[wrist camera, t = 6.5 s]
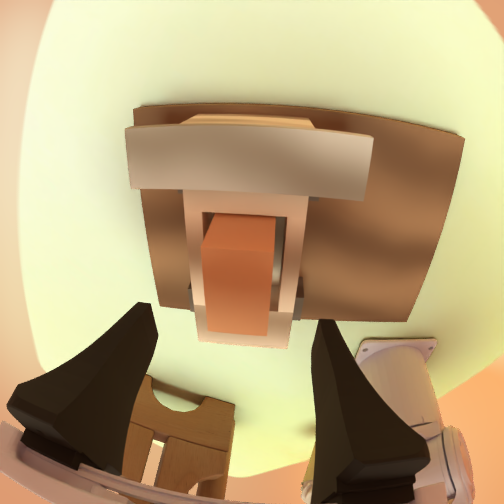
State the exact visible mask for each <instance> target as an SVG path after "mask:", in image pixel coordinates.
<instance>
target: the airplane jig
mask: <svg viewBox="0 0 504 504" xmlns="http://www.w3.org/2000/svg"><path fill="white" fill-rule="evenodd" d="M133 115H134V126H131V127H128V128H126V129H125V139H126V150H127V160H128V169H129V177H130V185H131V189H140V191H141V199H142V206H143V214H144V221H145V227H146V234H147V240H148V246H149V252H150V258H151V263H152V269H153V274H154V279H155V285H156V290H157V294H158V299H159V304H160V306H162V307H170V308H178V309H187V310H191V312H195V318H196V326H197V333H198V340H199V341H202V342H211V343H220V344H230V345H240V346H252V347H265V348H280V349H287V348H288V342H289V336H290V329H291V323H292V320H300V319H312V320H319V319H334V320H335V321H368V322H407V320H408V317H409V315H410V313H411V311H412V309H413V306H414V304H415V302H416V299H417V297H418V294H419V292H420V290H421V287H422V285H423V282H424V280H425V277H426V275H427V272H428V269H429V267H430V264H431V261H432V258H433V256H434V253H435V250H436V247H437V244H438V241H439V238H440V235H441V232H442V229H443V226H444V222H445V219H446V216H447V212H448V209H449V205H450V202H451V198H452V195H453V191H454V187H455V183H456V179H457V175H458V170H459V166H460V161H461V157H462V152H463V147H464V141H465V138H463V137H461V136H459V135H456V134H453V133H449V132H445V131H441V130H437V129H433V128H429V127H425V126H421V125H416V124H412V123H407V122H403V121H398V120H393V119H387V118H382V117H376V116H370V115H364V114H358V113H351V112H344V111H336V110H328V109H319V108H309V107H298V106H285V105H268V104H239V103H205V104H176V105H160V106H147V107H139V108H136V109H133ZM215 213H233V214H250V215H266V216H276V223H275V244H274V260H273V273H272V285H271V297H270V309H269V320H268V332H267V336H254V335H242V334H231V333H221V332H211V331H208V327H207V318H206V307H205V296H204V285H203V273H202V260H201V245H202V242H203V240H204V238H205V236H206V233H207V231H208V229H209V226H210V224H211V222H212V219H213V217H214V215H215Z"/></svg>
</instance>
